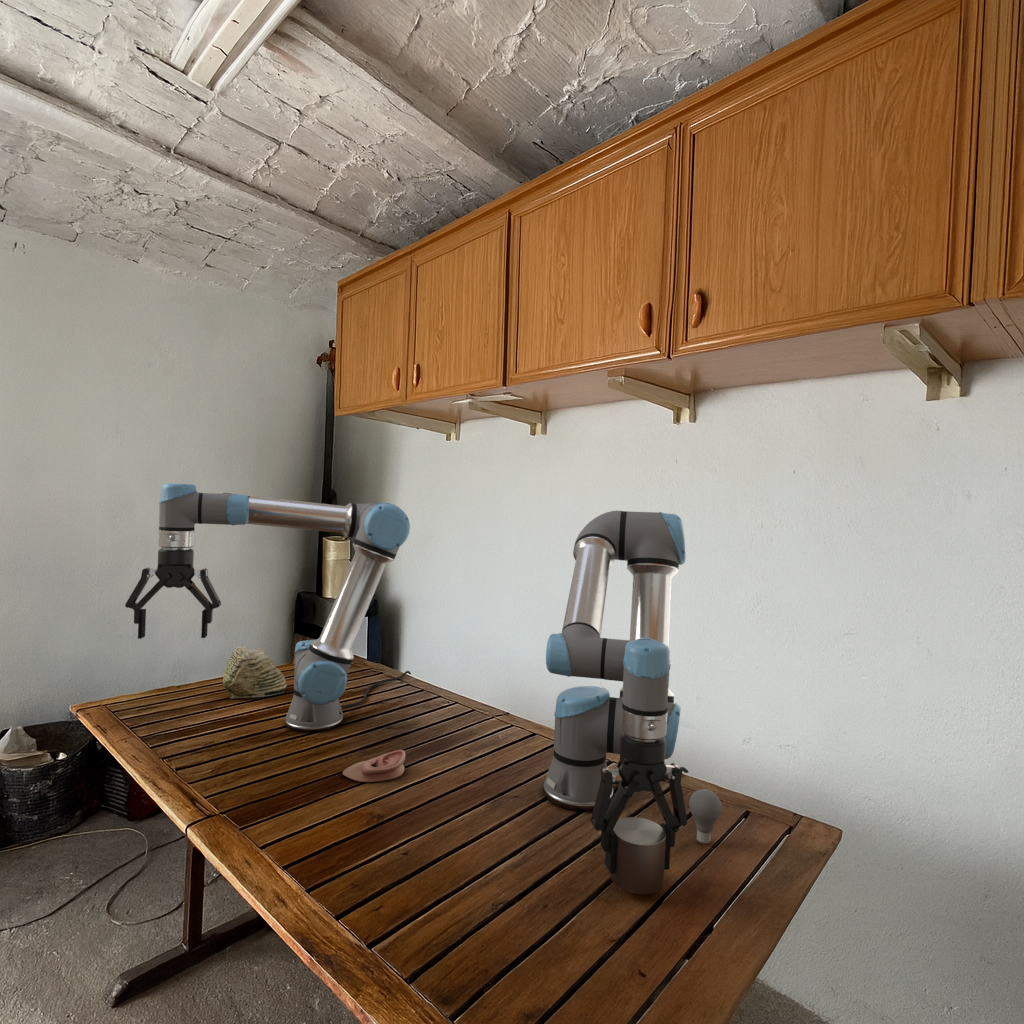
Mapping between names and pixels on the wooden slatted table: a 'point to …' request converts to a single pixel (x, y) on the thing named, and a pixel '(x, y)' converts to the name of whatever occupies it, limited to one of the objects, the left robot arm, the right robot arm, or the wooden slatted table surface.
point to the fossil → (252, 674)
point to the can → (639, 855)
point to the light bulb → (705, 812)
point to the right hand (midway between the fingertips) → (636, 866)
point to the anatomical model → (377, 768)
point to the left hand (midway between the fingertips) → (173, 637)
